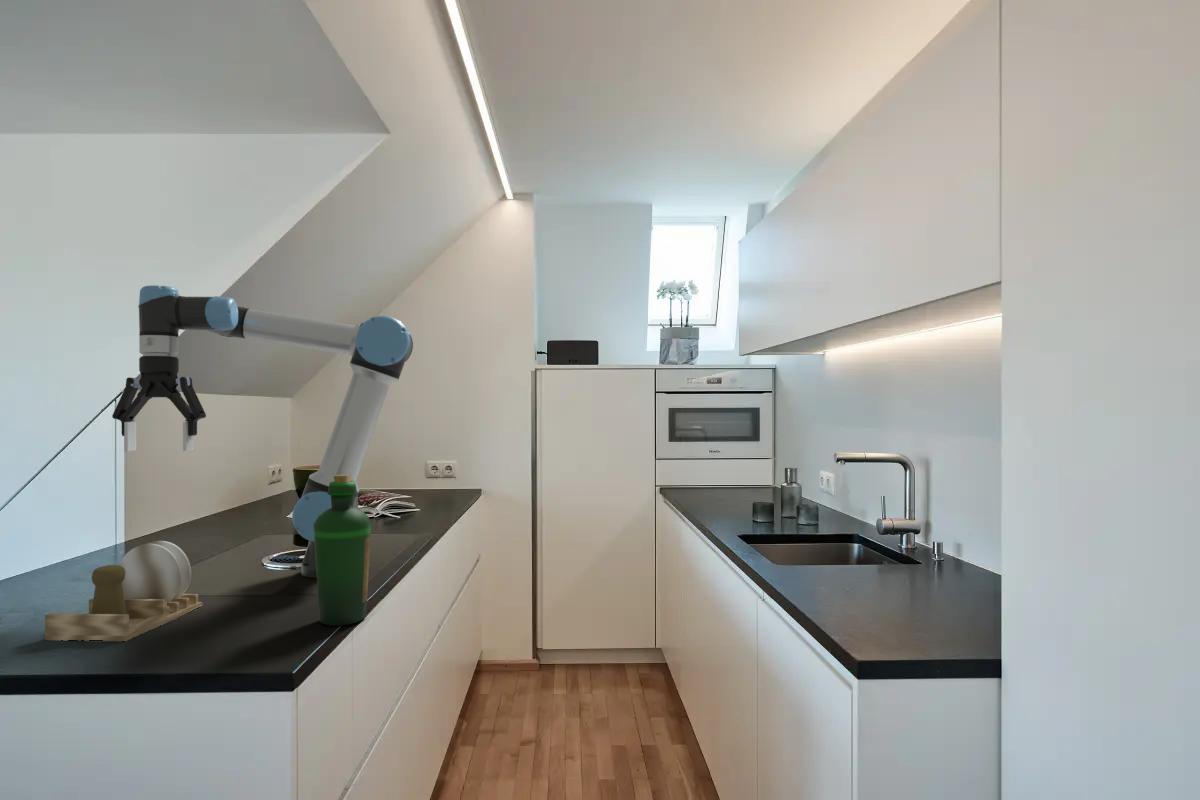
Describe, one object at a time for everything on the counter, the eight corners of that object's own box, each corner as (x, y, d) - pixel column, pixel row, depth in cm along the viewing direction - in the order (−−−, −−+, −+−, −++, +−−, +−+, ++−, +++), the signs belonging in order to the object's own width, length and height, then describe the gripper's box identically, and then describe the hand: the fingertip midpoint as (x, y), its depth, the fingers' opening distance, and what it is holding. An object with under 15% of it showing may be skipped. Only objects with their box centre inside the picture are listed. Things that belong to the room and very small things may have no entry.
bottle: (383, 615, 142) (382, 473, 142) (347, 631, 132) (346, 478, 132) (338, 610, 145) (338, 472, 145) (300, 626, 135) (300, 477, 135)
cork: (101, 621, 136) (101, 562, 136) (135, 620, 136) (134, 562, 136) (81, 631, 130) (81, 570, 130) (116, 629, 130) (116, 569, 130)
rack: (202, 606, 149) (202, 539, 149) (124, 641, 127) (124, 562, 127) (133, 605, 150) (133, 538, 150) (44, 640, 128) (44, 561, 128)
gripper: (93, 355, 157) (93, 452, 157) (202, 353, 156) (202, 451, 155) (118, 357, 165) (118, 450, 165) (222, 356, 163) (223, 449, 163)
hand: (159, 451), depth 160 cm, fingers open, 13 cm apart
